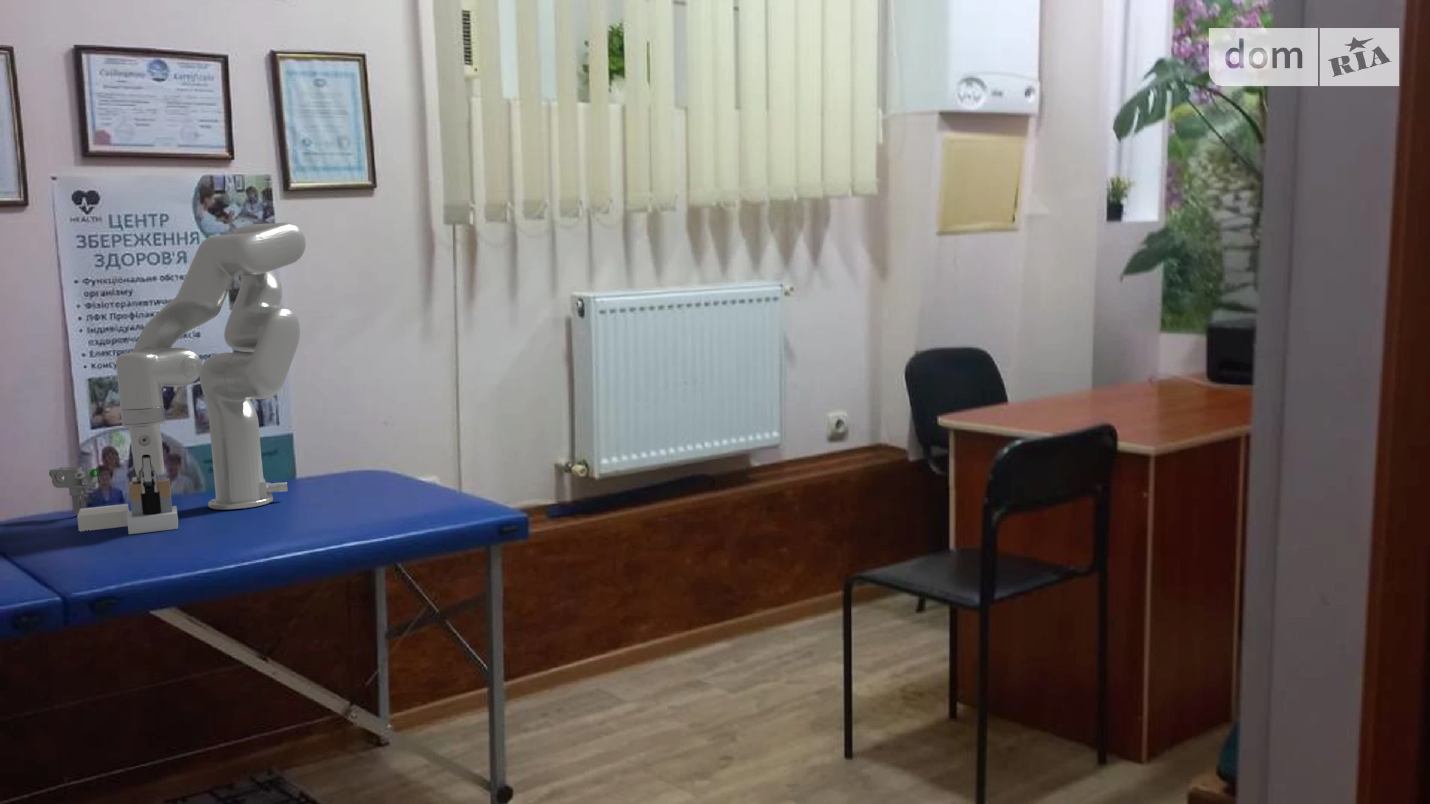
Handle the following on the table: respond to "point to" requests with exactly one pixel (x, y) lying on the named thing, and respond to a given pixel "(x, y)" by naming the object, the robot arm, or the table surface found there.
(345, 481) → the table surface
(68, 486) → the mechanical component
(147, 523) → the stand
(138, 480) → the housing
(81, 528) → the stand
